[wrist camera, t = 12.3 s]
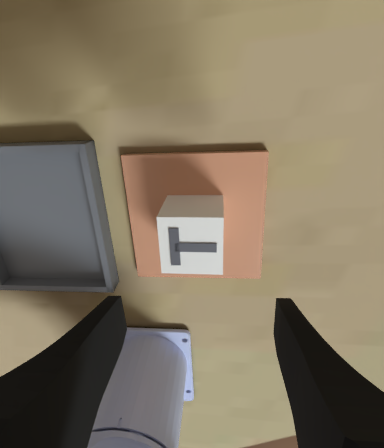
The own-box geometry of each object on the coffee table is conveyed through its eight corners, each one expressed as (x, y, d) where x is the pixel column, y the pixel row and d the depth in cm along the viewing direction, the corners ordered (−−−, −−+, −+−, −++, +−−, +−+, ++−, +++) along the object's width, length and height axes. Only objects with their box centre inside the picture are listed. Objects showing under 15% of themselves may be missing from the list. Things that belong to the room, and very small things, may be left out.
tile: (259, 274, 24) (260, 278, 23) (140, 272, 25) (138, 276, 24) (267, 150, 20) (268, 151, 19) (123, 154, 21) (120, 155, 20)
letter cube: (222, 244, 22) (222, 275, 19) (171, 243, 23) (161, 274, 19) (223, 195, 21) (223, 218, 17) (167, 195, 21) (156, 217, 17)
